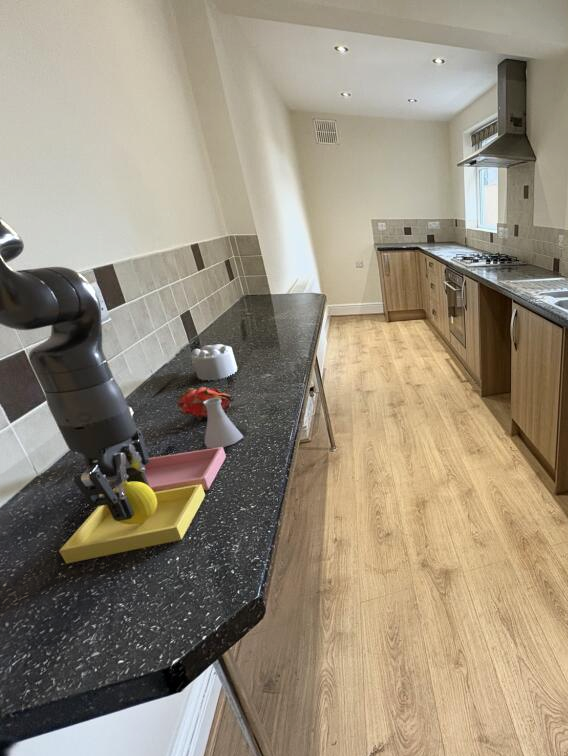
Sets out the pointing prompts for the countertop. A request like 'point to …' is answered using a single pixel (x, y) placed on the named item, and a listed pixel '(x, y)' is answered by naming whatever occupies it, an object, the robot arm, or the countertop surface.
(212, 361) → the lumpy-topped squat cylinder
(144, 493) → the lemon
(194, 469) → the rose tray
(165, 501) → the yellow tray
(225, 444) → the flask
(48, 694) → the countertop surface
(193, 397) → the dragon fruit
